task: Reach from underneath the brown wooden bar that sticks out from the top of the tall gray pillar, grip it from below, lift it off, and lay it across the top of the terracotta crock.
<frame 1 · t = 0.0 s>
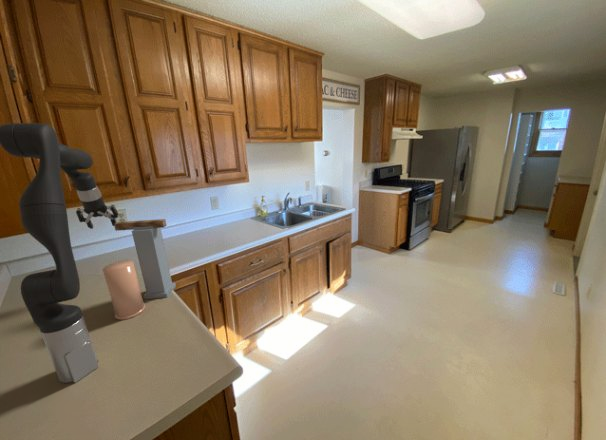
hand: (103, 226, 120), 31 cm above the countertop, tool tilted 20°, fingers open, 8 cm apart
tall gray pillar: (160, 292, 120), on the countertop
brown wooden bar: (141, 228, 111), point 32 cm above the countertop, touching tall gray pillar
crock: (130, 311, 106), on the countertop
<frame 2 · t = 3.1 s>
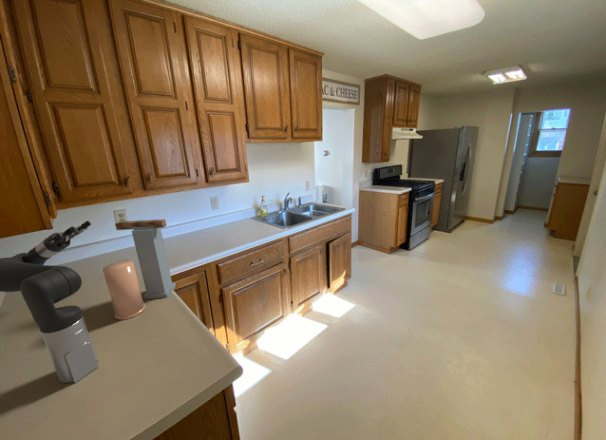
hand: (82, 225, 109), 35 cm above the countertop, tool pointing upward, fingers open, 8 cm apart
nothing on the countertop moved.
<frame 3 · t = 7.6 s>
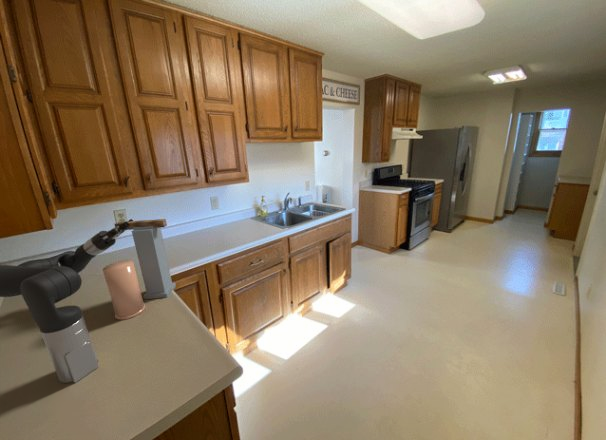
hand: (130, 222, 110), 35 cm above the countertop, tool pointing upward, fingers closed on brown wooden bar, 3 cm apart
brown wooden bar: (141, 227, 111), point 32 cm above the countertop, touching gripper, tall gray pillar
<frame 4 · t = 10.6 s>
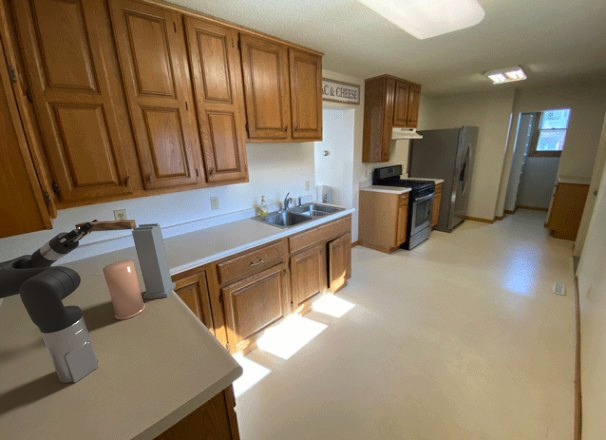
hand: (93, 222, 96), 39 cm above the countertop, tool pointing upward, fingers closed on brown wooden bar, 3 cm apart
brown wooden bar: (107, 229, 97), point 36 cm above the countertop, touching gripper
when the fingers open (25 cm above the countertop, at t = 13.6 s): brown wooden bar drops 2 cm, resting on crock.
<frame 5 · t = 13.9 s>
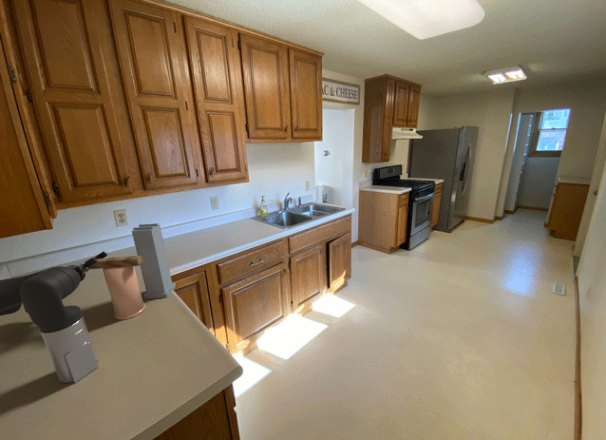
hand: (100, 256, 99), 25 cm above the countertop, tool pointing upward, fingers open, 5 cm apart
brown wooden bar: (114, 266, 101), point 21 cm above the countertop, touching crock
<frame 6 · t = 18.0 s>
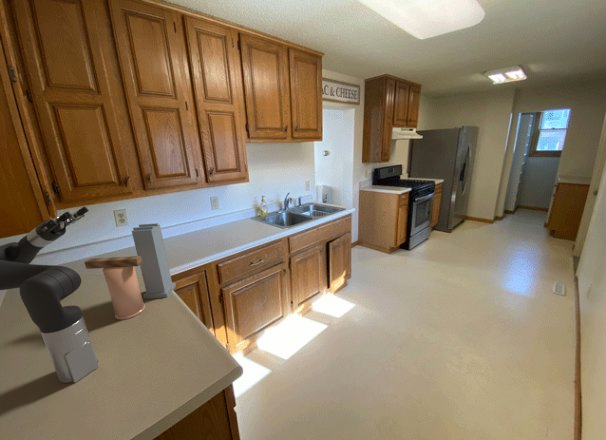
hand: (78, 211, 98), 43 cm above the countertop, tool pointing upward, fingers open, 8 cm apart
nothing on the countertop moved.
at the end: brown wooden bar inside the target area on the crock (0.9 cm from its centre), point 21.0 cm above the crock's base; the gripper is holding nothing; brown wooden bar touching crock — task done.
